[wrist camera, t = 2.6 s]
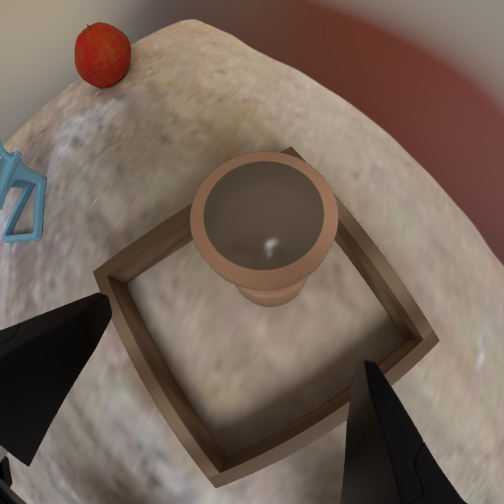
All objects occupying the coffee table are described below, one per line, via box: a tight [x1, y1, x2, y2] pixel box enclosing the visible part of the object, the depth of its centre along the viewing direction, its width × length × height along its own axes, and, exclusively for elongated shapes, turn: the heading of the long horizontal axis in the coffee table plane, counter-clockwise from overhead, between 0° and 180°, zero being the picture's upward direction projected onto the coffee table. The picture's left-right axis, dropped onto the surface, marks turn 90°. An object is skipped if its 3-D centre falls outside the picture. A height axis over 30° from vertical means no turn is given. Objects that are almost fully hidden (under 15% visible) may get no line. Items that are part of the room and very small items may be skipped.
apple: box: [75, 22, 131, 88], centre depth 27 cm, size 8×8×11 cm
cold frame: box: [93, 147, 439, 488], centre depth 19 cm, size 18×18×3 cm
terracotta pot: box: [190, 151, 338, 307], centre depth 16 cm, size 6×6×10 cm
